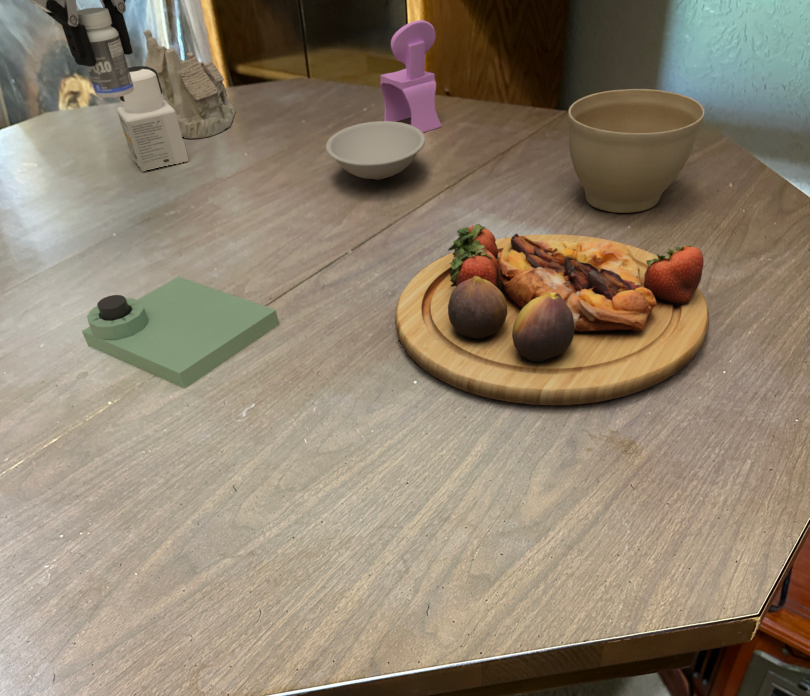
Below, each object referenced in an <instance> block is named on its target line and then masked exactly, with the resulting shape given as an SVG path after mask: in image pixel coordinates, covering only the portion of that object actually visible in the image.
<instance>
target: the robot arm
mask: <svg viewBox="0 0 810 696" xmlns="http://www.w3.org/2000/svg"><path fill="white" fill-rule="evenodd" d="M27 1H28V2H29V3H31V4H32V5H34V6H35V7H37V8H38V9H41V10H42V11H43V12H44V13H45V14H47V15H48V16H49V17H51V18H52V19H53V20H54V21H55V23H56V24H57V25H59V26H61V28H62V30H63V33H64V36H65V40H66V42H67V45H68V49H69V51H70V54H71V56H72V57H73V59H74V62H75V63H76V65H78V66H85V67H87V66H90V67H92V66H95V65H96V60H95V56H94V53H93V50H92V47H91V44H90V41H89V37H88V34H87V31H86V28H85V27H84V25H80V24H79V21H78V13H77V11H78V8H77V7H78V5H77V1H76V0H27ZM126 1H127V0H99V2H100V4H101V6H102V8H107V9H108V10H109V14H110V17H111V22H112V24H111V27H113V28H115V29H116V30H117V32H118V34H119V37H120V41H121V44H122V48H123V51H124V55H127V56H128V55H132V54H133V47H132V44H131V38H130V34H129V30H128V27H127V24H126V19H125V16H124V14H125V13H126V11H127V6H126Z"/></svg>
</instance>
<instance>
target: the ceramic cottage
mask: <svg viewBox="0 0 810 696" xmlns="http://www.w3.org/2000/svg"><path fill="white" fill-rule="evenodd" d="M143 35H144V37H145V42H146V43H145V44H146V48H147V55H146V61H145V63H144V66H147V67H150V68H153V69H154V70H155V71H156V72H157V74H158V78H159V82H160V85H161V89H162V93H163V96H164V100H165V101H166V102H167V103H168V104H169V105H170V106H171V107H172V108H173V109H174V110H175V112H176V116H177V119H178V123H179V127H180V131H181V134H182V137H184V138H183V139H189V140H191V139H203V138H204V139H205V138H209V137H213V136H216V135H218V134H220V133H222V132H224V131H225V130H226V129H228V128H230V127H231V125H232V123H233V121H234V117H235V115H236V113H237V110H236V108H235V105H233V104H232V103H230V101H229V100H228V98H227V97H228V94H227V89H226V87H225V86H226V85H225V84H224V83H223V82H224V81H225V78H224V77H223V74H222V73H221V72H220V70H219V69H218V68H217V66H216V64H214V62H212V61H209V62H206V63H204V62H203V61H199V59H198V57H196V56H195V54H194V52H187V53H186V60H183V59H182V58H181V59H180V57H179V56H178V52H177V50H175V48H173V47H169V48H167V47H166V46H164V45H163V46H162V45H161V46H160V44H159V43H158V41H157V38H156V37H153V34H152V31H151V30H150V29H146V30H144V31H143Z"/></svg>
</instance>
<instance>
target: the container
mask: <svg viewBox="0 0 810 696" xmlns="http://www.w3.org/2000/svg"><path fill="white" fill-rule="evenodd" d="M128 69H129V73H130V76H131V79H132V83H133V86H134V90H133V91H132V92H131V93H129V94H127V95H124V96H121V97H119V101H120V104H121V106H119V107H117V109H116V112H117V116H118V118H119V121H120V124H121V128H122V131H123V134H124V138H125V140H126V143H127V147H128V150H129V152H130V156H131V158H132V160H133V159H134V160H133V161H134V162H135V164H136V163H137V164H136V165H137V166H138V168H139V167H140V168H139V169H140V170H141V172H143V171H146V170H150V169H154V168H158V167H163V166H167V167H169V166H168V165H172V166H174V165H173V164H176V165H180V164H184V163H187V162H188V161H189V157H188V154H187V150H186V146H185V143H184V138H182V134H181V131H180V127H179V123H178V119H177V116H176V112H175V110H174V109H173V108H172V107H171V106H170V105H169V104H168V103H167V102H166V101H165V100H164V96H163V93H162V89H161V85H160V82H159V78H158V74H157V72H156V71H155V70H154V69H153V68H150V67H147V66H145V65H138V66H137V65H135V66H128ZM183 162H184V163H183ZM179 163H180V164H179ZM163 168H164V167H163ZM146 172H147V171H146Z"/></svg>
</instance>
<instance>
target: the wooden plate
mask: <svg viewBox="0 0 810 696" xmlns="http://www.w3.org/2000/svg"><path fill="white" fill-rule="evenodd" d="M456 233H457V236H458V238H456V239H455V240H453V245H451V246H449V248H448V250H447V251H448V252H449V251H453V250H454V251H453V252H451V253H448V254H446V255H444V256H442V257H440V258H438V259H436V260H434V261H433V262H430V263H429V264H428V265H426V266H425V267H424V268H422V269H421V270H420V271H419V272H418V273H417V274H416V275H414V277H413V278H412V279H410V280H409V282H408V283H407V285H406V286H405V288H404V289H403V290H402V292H401V294H400V296H399V298H398V300H397V303H396V308H395V313H394V325H395V331H396V335H397V338H398V339H399V342H400V344H401V346H402V347H403V348H404V351H405V352H406V353H407V354H408V356H409V358H411V359H412V360H413V361H414V362H415V363H416V364H417V365H418V366H419V367H420V368H422V369H423V370H424V371H425V372H426V373H428V374H430V375H431V376H433V377H434V378H436V379H438V380H440V381H441V382H443V383H446V384H447V385H450V386H452V387H454V388H456V389H459V390H462V391H464V392H467V393H469V394H474V395H477V396H481V397H484V398H488V399H492V400H496V401H497V400H498V401H503V402H508V403H509V402H510V403H516V404H525V405H538V406H570V405H572V406H573V405H582V404H584V405H585V404H591V403H601V402H605V401H609V400H614V399H617V398H622V397H626V396H628V395H632V394H635V393H638V392H641V391H644V390H645V389H648V388H650V387H652V386H656V385H657V384H660V383H661V382H664V381H665V380H667V379H669V378H670V377H671V376H673V375H675V374H677V373H678V372H679V371H680V370H682V369H683V368H684V367H686V365H688V364H689V362H691V361H692V359H693V358H694V357H695V356H696V354H697V353H698V352H699V351H700V350H701V348H702V346H703V345H704V342H705V339H706V337H707V334H708V332H709V327H710V312H709V311H710V310H709V307H708V303H707V301H706V298H705V296H704V294H703V293H702V291H701V290H700V288H699V285H700V283H701V280H702V276H703V269H704V263H705V262H704V255H703V253H702V250H700V249H699V248H698V247H695V246H692V244H689V245H684V244H682V246H681V247H680V246H675V249H670V248H669V247H668V248H667V249H668V251H667V252H666V253H667V255H660V254H659V253H656V254H654V253H652V252H650V251H647V250H644V249H641V248H639V247H636V246H633V245H630V244H626V243H623V242H619V241H615V240H610V239H604V238H600V237H599V238H598V237H593V236H587V235H586V236H585V235H576V234H575V235H573V234H553V233H551V234H527V235H524V234H523V235H519V234H518V233H514V235H513V236H509V237H501V238H496V237H495V235H494V233H493V232H492V231H491V230H490V229H488V228H487V227H486V226H483V225H481V224H480V223H477V224H475V225H471V226H470V227H468V226H466V227H465V226H464V227H463V228H459V229H458V230H456Z"/></svg>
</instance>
